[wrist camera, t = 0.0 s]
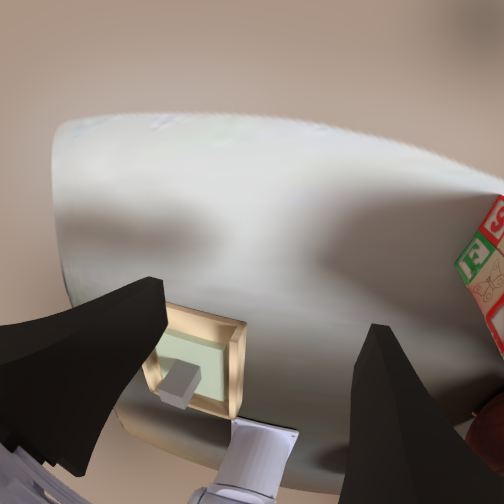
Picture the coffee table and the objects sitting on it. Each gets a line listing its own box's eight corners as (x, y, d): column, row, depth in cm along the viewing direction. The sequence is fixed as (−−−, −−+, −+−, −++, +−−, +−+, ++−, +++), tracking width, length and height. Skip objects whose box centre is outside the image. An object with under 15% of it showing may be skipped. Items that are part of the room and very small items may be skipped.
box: (241, 403, 28) (234, 420, 26) (160, 376, 30) (150, 391, 28) (246, 322, 23) (237, 343, 21) (142, 294, 25) (126, 310, 23)
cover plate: (226, 396, 27) (210, 432, 23) (167, 376, 29) (146, 408, 25) (226, 344, 24) (205, 386, 20) (156, 323, 25) (128, 357, 21)
